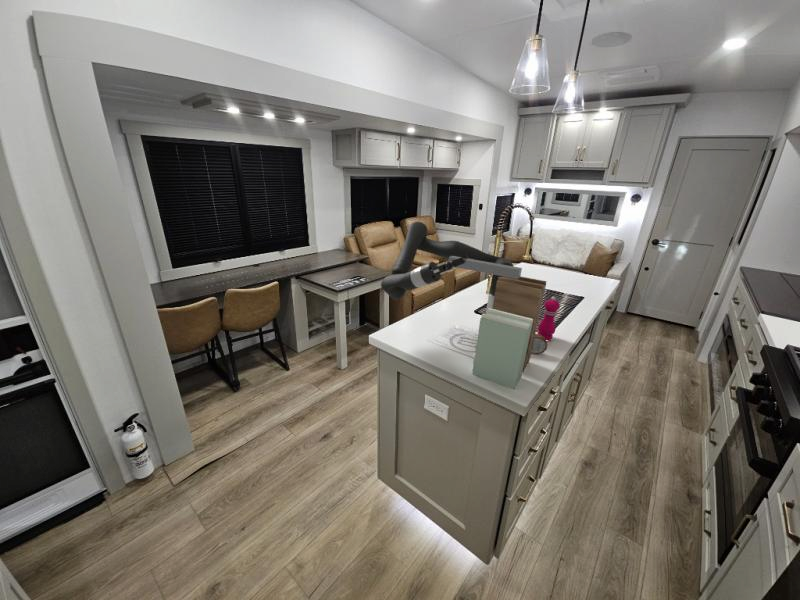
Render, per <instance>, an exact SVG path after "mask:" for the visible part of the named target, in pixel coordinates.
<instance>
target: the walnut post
mask: <svg viewBox="0 0 800 600" xmlns="http://www.w3.org/2000/svg"><path fill="white" fill-rule="evenodd" d="M546 286H547V280H546V281H545V280H542V279H536V278H531V277H525V276H520V278H519V279H514V278H509V277H504V276H503V277H498V281H497V284H496V290H495V296H494V302H493V308H492V309H495V310H499V311H503V312H507V313H511V314H515V315H519V316H523V317H527V318H531V319H533V323H532V328H531V333H530V338H529V342H528V347H527V352H526V356H525V361H524V366H523V370H522V373H524V372H525V370H526V369H527V367H528V365H529V363H530V361H531V351H532V346H533V342H534V337H535V334H537V333H536V332H537V329H538V325H539V324H538V323H539V319H540V314H541V310H542V304H543V300H544V295H545V292H546Z"/></svg>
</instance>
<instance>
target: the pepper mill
mask: <svg viewBox="0 0 800 600" xmlns="http://www.w3.org/2000/svg"><path fill="white" fill-rule="evenodd" d="M543 306H544V311H543V312H544V316H543V319H542V320H541V321H540V322H539V324H537V331H538V332H537V334H539V335H542V336H543V337H545V339H546V340H550V341H552V340H551V339H553V335H554V334H555V333H556V325H555V316H556V315H557V313H558V310H559V309H560V306H561V305H560V303H559V301H558V300H557V298H556V296H552V297H551V298H550V299H547V300H546V301H545V302H544V304H543Z"/></svg>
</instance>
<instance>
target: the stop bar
mask: <svg viewBox="0 0 800 600" xmlns="http://www.w3.org/2000/svg"><path fill="white" fill-rule="evenodd" d="M459 258H461V257H456V256H451V257H449V260H447V261H448V262H450V261H454V260H456V259H459ZM463 259H464V261H465V263H464V264H461V265H459V266H456V267H455V268H459V269H463V270H469V271H473V272H478V273H479V272H480V273H485V274H490V275H492V274H494V275H499V276H504V277H509V278H514V279H519V278H520V276H521V275H522V269H523V268H522V267H518V266H514V265H513V266H514V267H513V266H508V265H502V264H496V263H491V262H485V261H479V260H474V259H468V258H463ZM521 277H522V276H521Z"/></svg>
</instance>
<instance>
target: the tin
mask: <svg viewBox="0 0 800 600" xmlns="http://www.w3.org/2000/svg"><path fill="white" fill-rule="evenodd" d="M547 348H548V341H546V339H545V337H543V336H542V335H539V334H538V333H535V337H534V342H533V346H532V351H531V354H532V355H542V354H543V353H545V351H547Z"/></svg>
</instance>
